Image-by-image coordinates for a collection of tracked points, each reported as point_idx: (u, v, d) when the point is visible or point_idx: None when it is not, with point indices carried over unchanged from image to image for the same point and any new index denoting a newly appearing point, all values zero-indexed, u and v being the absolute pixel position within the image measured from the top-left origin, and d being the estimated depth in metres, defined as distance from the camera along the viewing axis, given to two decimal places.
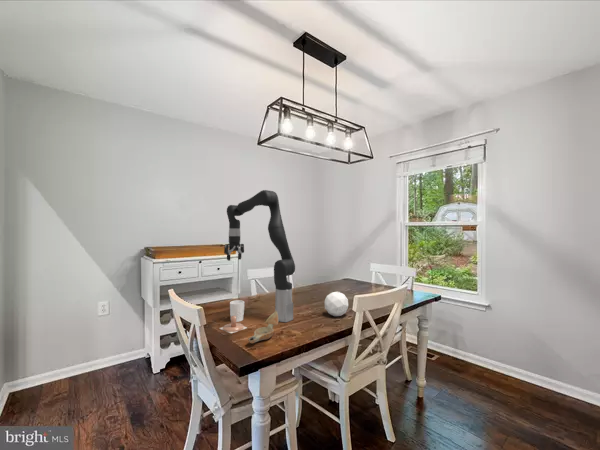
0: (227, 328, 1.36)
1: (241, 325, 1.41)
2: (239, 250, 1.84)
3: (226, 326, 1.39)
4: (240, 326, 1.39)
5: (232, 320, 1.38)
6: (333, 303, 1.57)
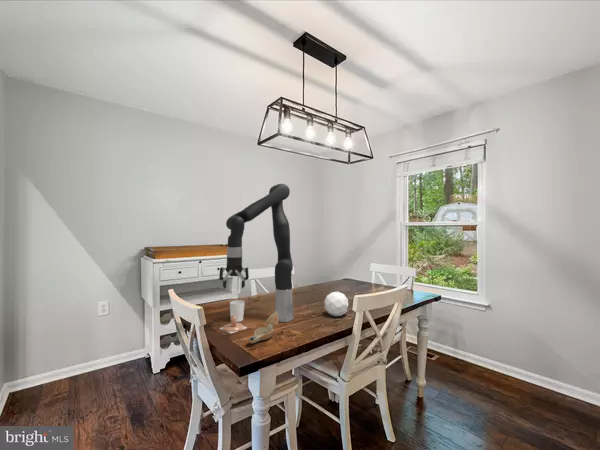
0: (227, 328, 1.36)
1: (241, 325, 1.41)
2: None
3: (226, 326, 1.39)
4: (240, 326, 1.39)
5: (232, 320, 1.38)
6: (333, 303, 1.57)
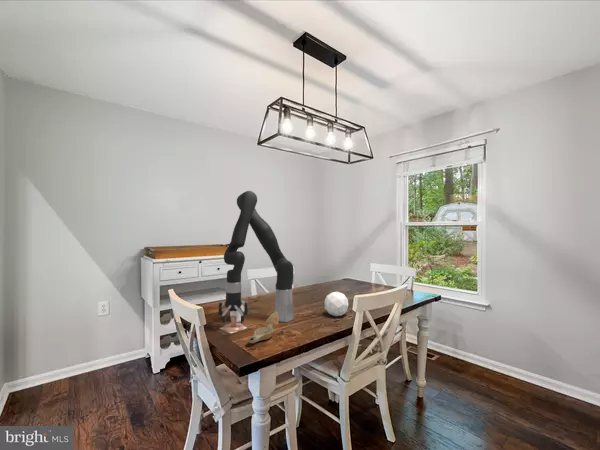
0: (227, 328, 1.36)
1: (241, 325, 1.41)
2: None
3: (226, 326, 1.39)
4: (240, 326, 1.39)
5: (232, 320, 1.38)
6: (333, 303, 1.57)
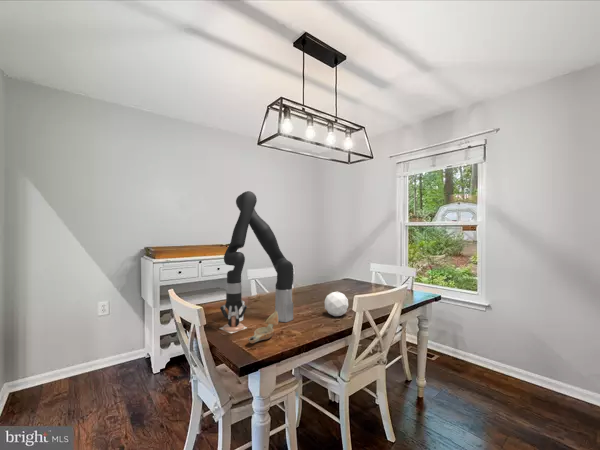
0: (227, 328, 1.37)
1: (241, 325, 1.41)
2: None
3: (226, 326, 1.39)
4: (240, 326, 1.39)
5: (232, 320, 1.38)
6: (333, 303, 1.57)
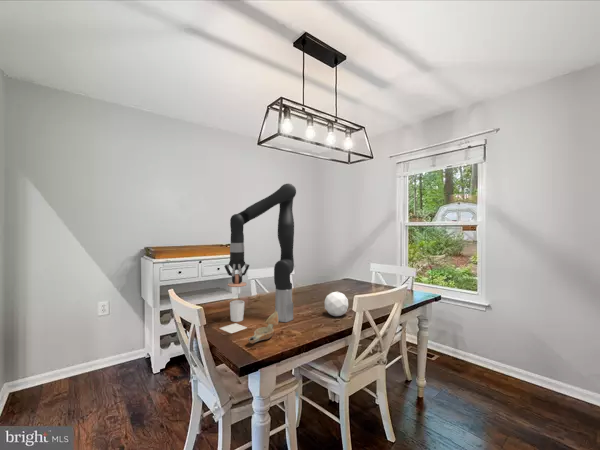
0: (231, 284, 1.47)
1: (244, 283, 1.51)
2: None
3: (230, 283, 1.49)
4: (243, 283, 1.50)
5: (236, 277, 1.48)
6: (333, 303, 1.57)
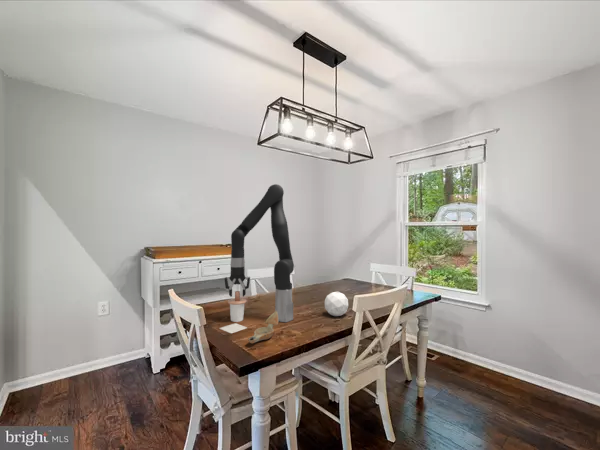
0: (231, 301, 1.49)
1: (244, 299, 1.54)
2: None
3: (230, 300, 1.52)
4: (243, 300, 1.52)
5: (236, 294, 1.51)
6: (333, 303, 1.57)
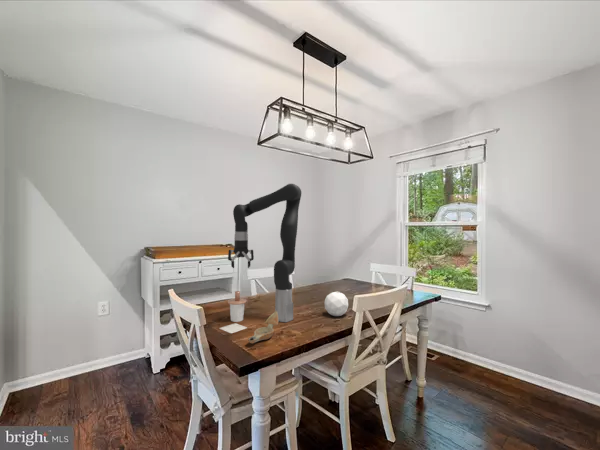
0: (231, 302, 1.49)
1: (244, 299, 1.54)
2: None
3: (230, 300, 1.52)
4: (243, 300, 1.52)
5: (236, 294, 1.51)
6: (333, 303, 1.57)
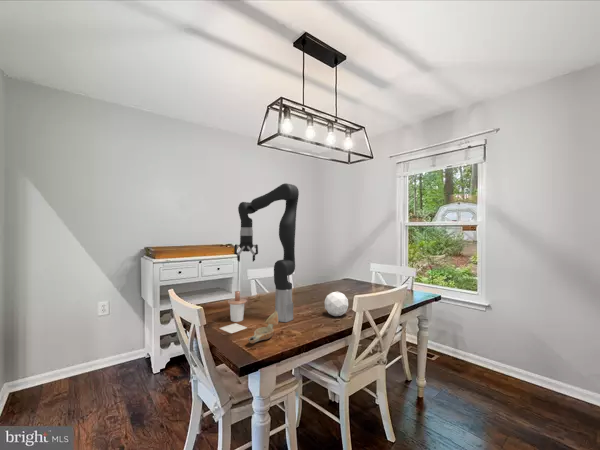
0: (231, 301, 1.49)
1: (244, 299, 1.54)
2: None
3: (230, 300, 1.52)
4: (243, 300, 1.52)
5: (236, 294, 1.51)
6: (333, 303, 1.57)
